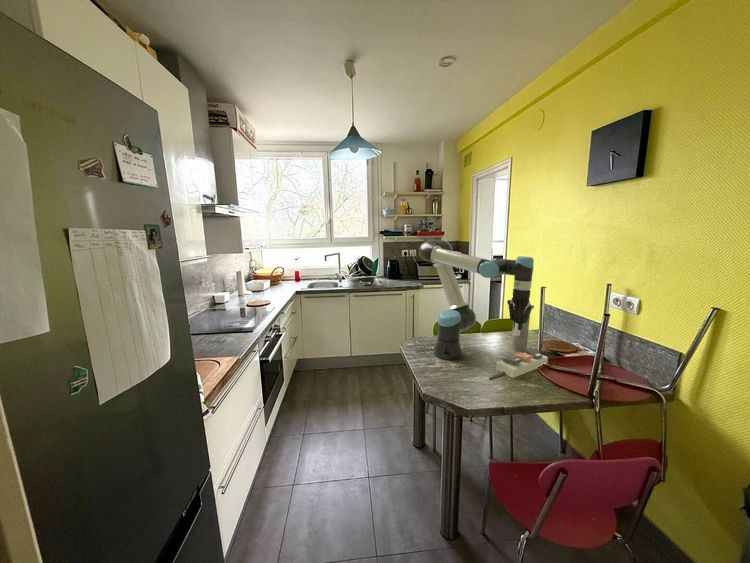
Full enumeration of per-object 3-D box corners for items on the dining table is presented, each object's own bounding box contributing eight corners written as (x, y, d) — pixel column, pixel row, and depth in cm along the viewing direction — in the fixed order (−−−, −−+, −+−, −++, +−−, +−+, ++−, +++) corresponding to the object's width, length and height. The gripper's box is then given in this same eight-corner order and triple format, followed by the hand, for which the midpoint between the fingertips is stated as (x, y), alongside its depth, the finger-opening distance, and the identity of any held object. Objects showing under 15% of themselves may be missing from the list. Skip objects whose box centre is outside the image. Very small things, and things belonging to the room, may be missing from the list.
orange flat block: (513, 357, 146) (513, 354, 146) (519, 355, 148) (519, 352, 148) (526, 360, 140) (526, 357, 140) (533, 358, 142) (532, 355, 142)
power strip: (481, 375, 137) (481, 365, 136) (530, 357, 156) (531, 349, 155) (497, 383, 130) (498, 373, 129) (547, 364, 148) (548, 355, 147)
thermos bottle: (511, 345, 172) (515, 298, 167) (526, 347, 169) (530, 300, 164) (511, 350, 165) (515, 302, 160) (526, 352, 162) (531, 303, 157)
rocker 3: (523, 351, 150) (524, 349, 149) (529, 349, 152) (530, 347, 152) (536, 359, 144) (537, 356, 144) (542, 357, 147) (543, 354, 146)
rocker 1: (503, 361, 142) (502, 358, 142) (509, 359, 145) (509, 356, 145) (516, 364, 136) (515, 361, 136) (522, 361, 138) (522, 358, 138)
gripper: (504, 287, 145) (500, 332, 149) (530, 292, 134) (524, 341, 138) (514, 285, 148) (509, 329, 153) (539, 290, 137) (533, 338, 142)
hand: (516, 335), depth 145 cm, fingers closed
